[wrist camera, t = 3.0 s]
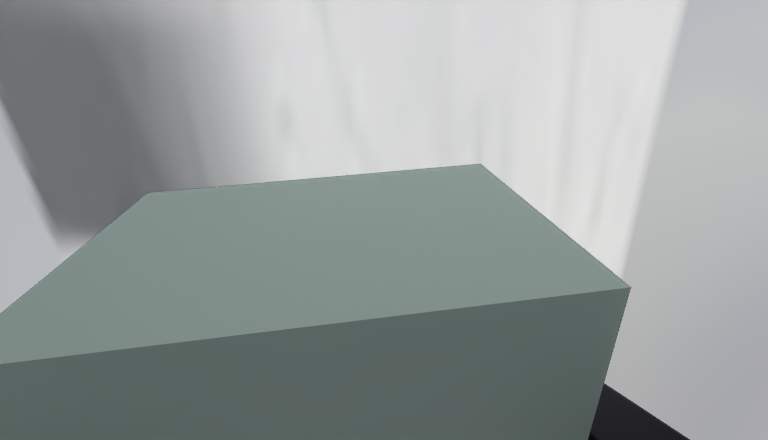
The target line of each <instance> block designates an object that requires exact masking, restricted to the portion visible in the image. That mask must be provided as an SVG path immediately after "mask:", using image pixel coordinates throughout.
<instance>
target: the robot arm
mask: <svg viewBox="0 0 768 440" xmlns="http://www.w3.org/2000/svg"><path fill="white" fill-rule="evenodd" d="M588 440H690V439H688V438H687V437H685V436H683V435H682V434H680V433H679V432H677V431H676V430H674V429H673V428H671V427H670V426H668V425H667V424H665V423H664V422H662V421H661V420H659V419H658V418H656V417H655V416H653V415H652V414H650V413H649V412H647V411H646V410H644V409H643V408H641V407H639V406H638V405H637V404H635V403H633V402H632V401H630V400H629V399H627V398H626V397H624V396H623V395H621V394H620V393H618V392H617V391H615V390H614V389H612V388H611V387H609V386H607V385H606V384H603V388H602V391H601V395H600V398H599V402H598V405H597V409H596V413H595V416H594V420H593V423H592V427H591V430H590V434H589V437H588Z"/></svg>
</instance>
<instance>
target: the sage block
mask: <svg viewBox="0 0 768 440" xmlns="http://www.w3.org/2000/svg"><path fill="white" fill-rule="evenodd" d="M630 289H631V287H630V286H629V285H627V284H626V283H625V282H624V281H623V280H622V279H620V278H619V277H618V276H617V275H615V274H614V273H613V272H612V271H611V270H609V269H608V268H607V267H606V266H604V265H603V264H602V263H601V262H600V261H598V260H597V259H596V258H595V257H594V256H592V255H591V254H590V253H589V252H587V251H586V250H585V249H584V248H583V247H581V246H580V245H579V244H578V243H576V242H575V241H574V240H573V239H572V238H570V237H569V236H568V235H567V234H565V233H564V232H563V231H562V230H561V229H559V228H558V227H557V226H556V225H555V224H553V223H552V222H551V221H550V220H548V219H547V218H546V217H545V216H544V215H542V214H541V213H540V212H539V211H537V210H536V209H535V208H534V207H533V206H531V205H530V204H529V203H528V202H526V201H525V200H524V199H523V198H522V197H520V196H519V195H518V194H517V193H516V192H514V191H513V190H512V189H511V188H509V187H508V186H507V185H506V184H505V183H503V182H502V181H501V180H500V179H498V178H497V177H496V176H495V175H494V174H492V173H491V172H490V171H489V170H487V169H486V168H485V167H484V166H483V165H481V164H472V165H461V166H449V167H438V168H426V169H415V170H403V171H392V172H380V173H369V174H357V175H346V176H334V177H323V178H311V179H300V180H288V181H277V182H265V183H254V184H242V185H231V186H219V187H208V188H196V189H185V190H173V191H162V192H150V193H147V194H146V195H145V196H143V197H142V198H141V199H140V200H139V201H137V202H136V203H135V204H134V205H132V206H131V207H130V208H129V209H127V210H126V211H125V212H124V213H123V214H121V215H120V216H119V217H118V218H116V219H115V220H114V221H113V222H112V223H110V224H109V225H108V226H107V227H105V228H104V229H103V230H102V231H101V232H99V233H98V234H97V235H96V236H94V237H93V238H92V239H91V240H90V241H88V242H87V243H86V244H85V245H83V246H82V247H81V248H80V249H79V250H77V251H76V252H75V253H74V254H72V255H71V256H70V257H69V258H68V259H66V260H65V261H64V262H63V263H61V264H60V265H59V266H58V267H57V268H55V269H54V270H53V271H52V272H50V273H49V274H48V275H47V276H46V277H44V278H43V279H42V280H41V281H39V282H38V283H37V284H36V285H35V286H33V287H32V288H31V289H30V290H28V291H27V292H26V293H25V294H23V295H22V296H21V297H20V298H19V299H17V300H16V301H15V302H14V303H12V304H11V305H10V306H9V307H8V308H6V309H5V310H4V311H3V312H1V313H0V440H588V437H589V434H590V430H591V427H592V423H593V420H594V416H595V413H596V409H597V405H598V402H599V398H600V395H601V391H602V388H603V384H604V381H605V377H606V374H607V370H608V367H609V363H610V360H611V356H612V352H613V349H614V345H615V342H616V338H617V335H618V331H619V328H620V324H621V321H622V317H623V313H624V310H625V307H626V303H627V300H628V296H629V293H630Z"/></svg>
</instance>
